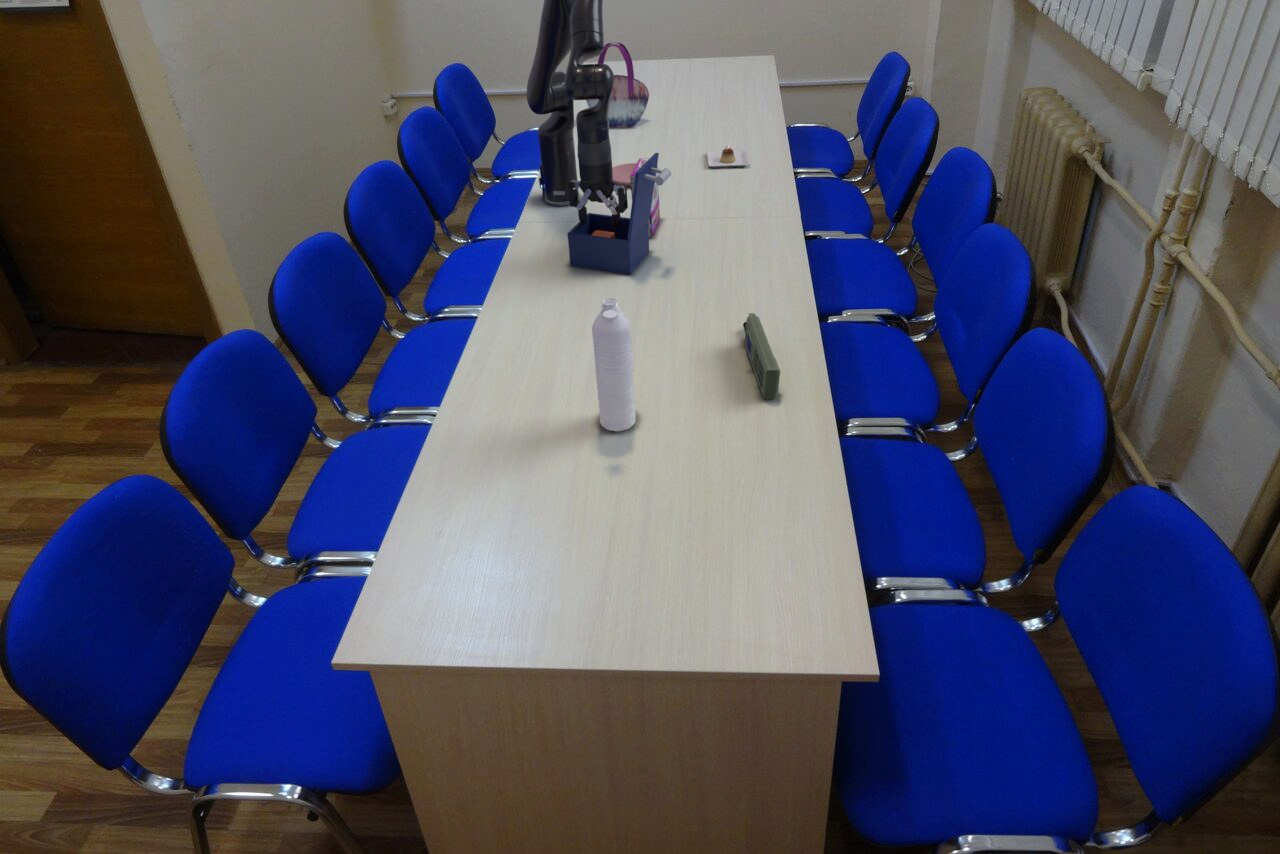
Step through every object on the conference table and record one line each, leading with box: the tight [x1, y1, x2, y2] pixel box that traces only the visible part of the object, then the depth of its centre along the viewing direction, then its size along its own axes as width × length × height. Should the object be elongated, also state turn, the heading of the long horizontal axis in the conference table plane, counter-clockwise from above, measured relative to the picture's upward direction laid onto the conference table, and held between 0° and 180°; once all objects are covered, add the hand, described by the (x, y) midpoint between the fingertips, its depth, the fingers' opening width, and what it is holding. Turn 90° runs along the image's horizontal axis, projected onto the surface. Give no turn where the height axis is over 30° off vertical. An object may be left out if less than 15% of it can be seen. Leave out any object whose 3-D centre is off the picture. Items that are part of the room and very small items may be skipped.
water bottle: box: [591, 297, 636, 432], centre depth 147 cm, size 9×6×25 cm
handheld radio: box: [742, 312, 781, 401], centre depth 167 cm, size 7×3×25 cm
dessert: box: [706, 144, 751, 168], centre depth 251 cm, size 12×12×5 cm
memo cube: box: [591, 230, 615, 239], centre depth 205 cm, size 5×5×5 cm
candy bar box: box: [630, 157, 661, 239], centre depth 214 cm, size 11×5×16 cm, turn 168°
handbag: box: [585, 41, 650, 129], centre depth 276 cm, size 21×10×25 cm, turn 85°
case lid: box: [628, 152, 672, 240], centre depth 193 cm, size 16×12×5 cm
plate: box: [612, 162, 637, 187], centre depth 244 cm, size 14×14×2 cm
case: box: [566, 212, 650, 275], centre depth 204 cm, size 16×12×8 cm
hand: (599, 225), depth 202 cm, fingers open, 7 cm apart
